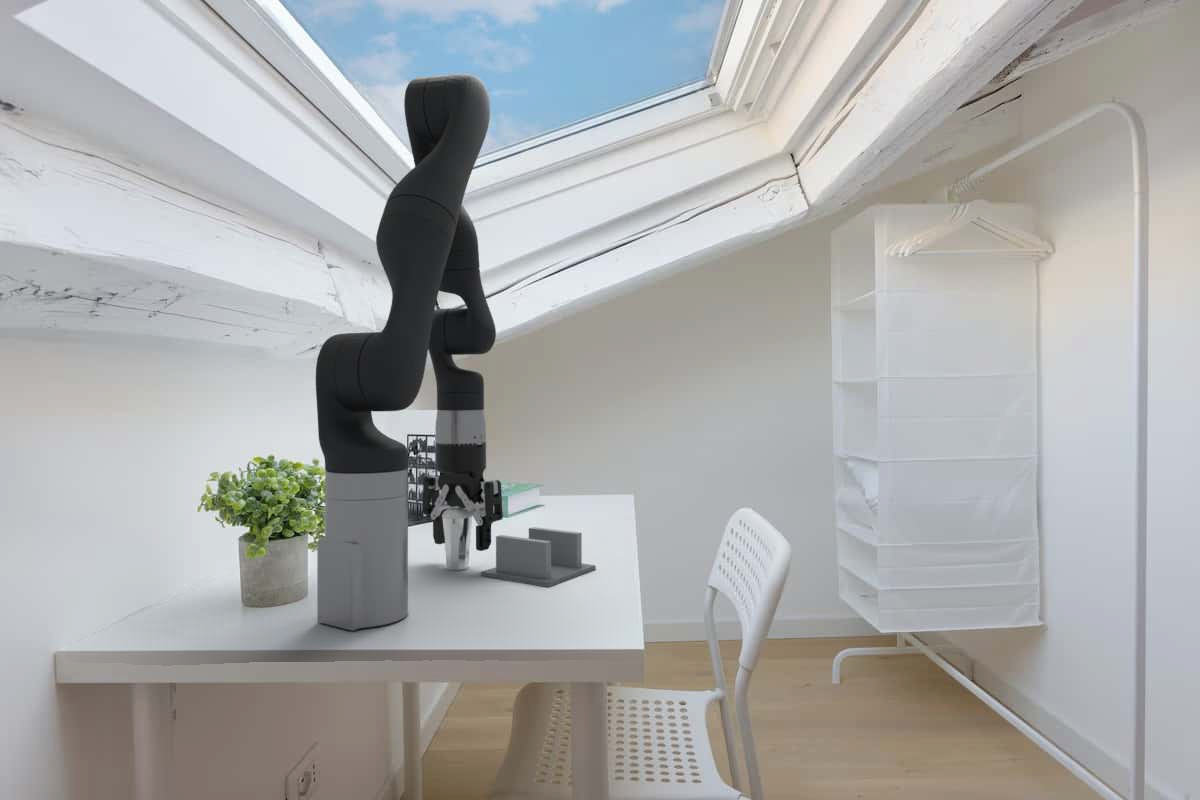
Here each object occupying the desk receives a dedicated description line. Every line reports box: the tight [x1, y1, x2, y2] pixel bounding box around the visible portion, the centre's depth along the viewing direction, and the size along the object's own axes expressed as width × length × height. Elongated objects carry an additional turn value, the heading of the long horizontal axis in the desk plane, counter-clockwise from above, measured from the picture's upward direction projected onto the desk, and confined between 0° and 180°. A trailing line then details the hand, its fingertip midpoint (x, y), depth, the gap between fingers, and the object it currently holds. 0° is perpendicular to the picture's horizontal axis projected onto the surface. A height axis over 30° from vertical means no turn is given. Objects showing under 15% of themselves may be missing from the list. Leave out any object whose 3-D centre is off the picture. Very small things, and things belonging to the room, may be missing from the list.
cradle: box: [480, 526, 597, 588], centre depth 105 cm, size 12×12×6 cm
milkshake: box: [442, 502, 478, 571], centre depth 108 cm, size 4×5×10 cm
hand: (461, 546), depth 108 cm, fingers open, 8 cm apart
